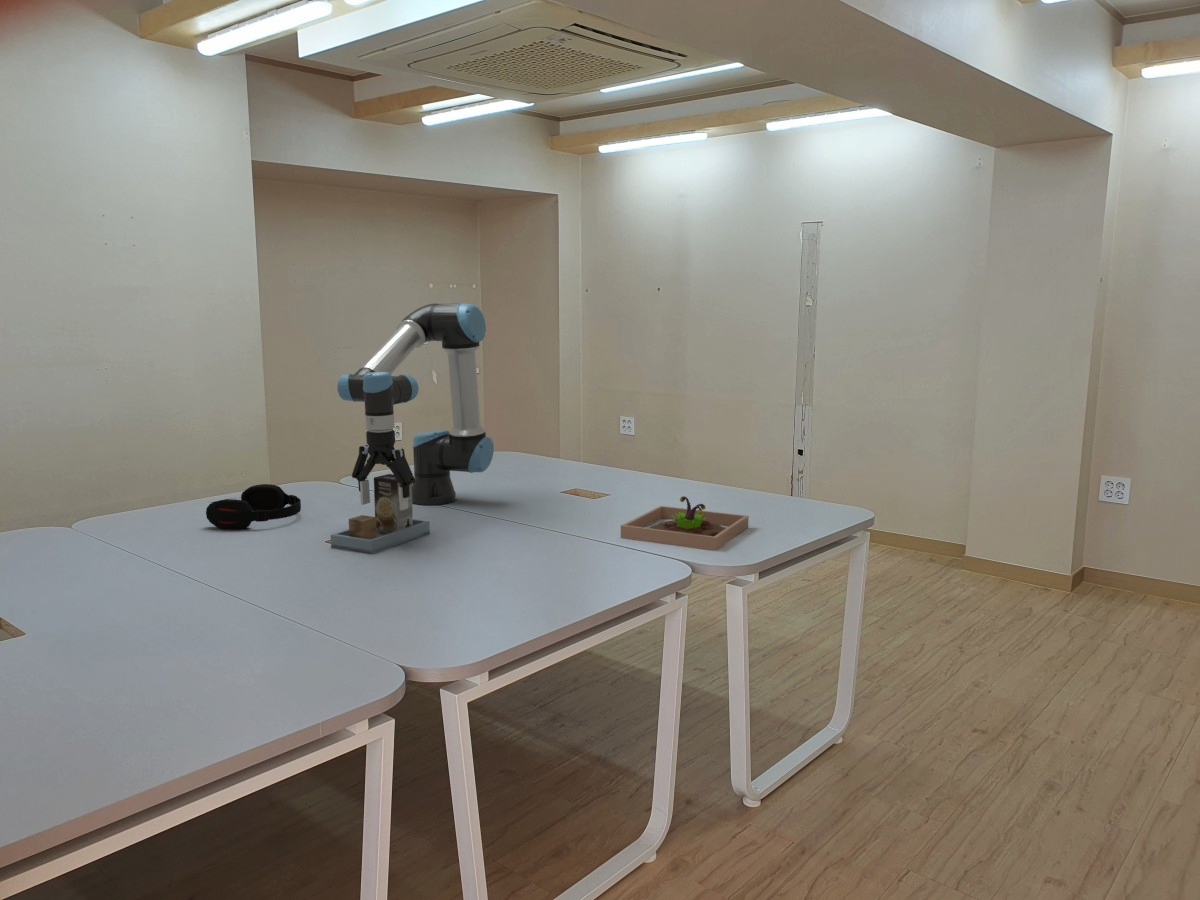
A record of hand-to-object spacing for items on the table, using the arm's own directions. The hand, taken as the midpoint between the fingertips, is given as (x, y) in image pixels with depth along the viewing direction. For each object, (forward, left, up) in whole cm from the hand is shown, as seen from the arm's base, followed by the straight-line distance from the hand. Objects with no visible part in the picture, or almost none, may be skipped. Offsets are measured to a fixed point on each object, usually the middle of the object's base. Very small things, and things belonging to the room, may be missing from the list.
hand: (384, 506), depth 239 cm
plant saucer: (+70, +46, -9) cm, 85 cm away
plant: (+72, +44, -10) cm, 85 cm away
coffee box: (-1, +4, -9) cm, 10 cm away
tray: (-1, -1, -9) cm, 9 cm away
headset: (-52, 0, -10) cm, 53 cm away
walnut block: (-1, -8, -9) cm, 12 cm away
